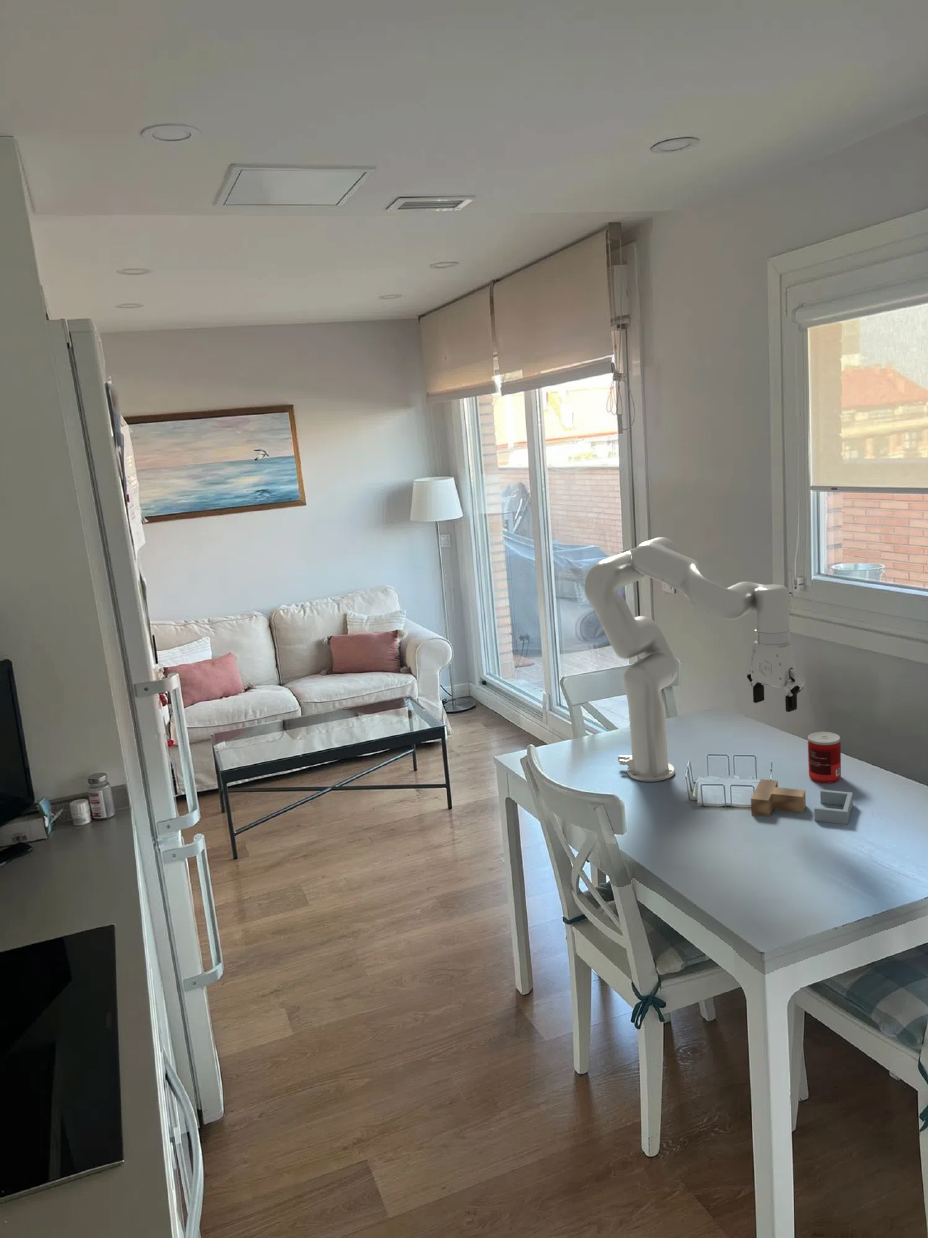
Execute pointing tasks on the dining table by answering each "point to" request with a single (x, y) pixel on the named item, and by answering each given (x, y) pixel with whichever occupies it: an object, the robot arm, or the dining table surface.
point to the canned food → (824, 757)
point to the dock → (834, 814)
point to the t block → (776, 799)
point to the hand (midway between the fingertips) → (774, 706)
